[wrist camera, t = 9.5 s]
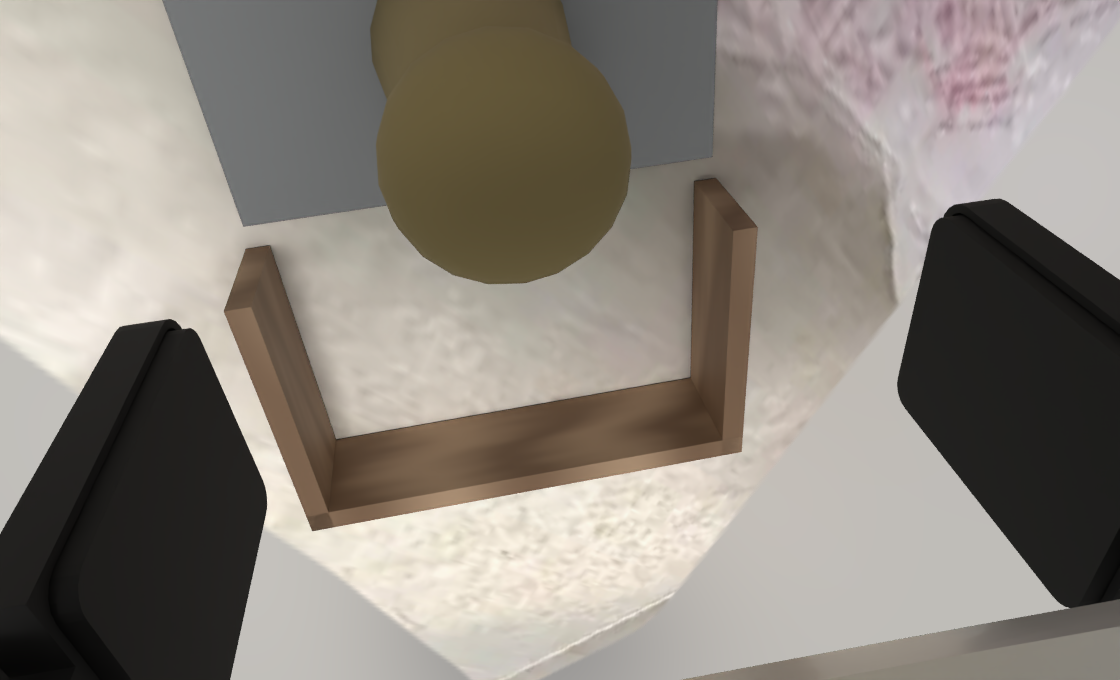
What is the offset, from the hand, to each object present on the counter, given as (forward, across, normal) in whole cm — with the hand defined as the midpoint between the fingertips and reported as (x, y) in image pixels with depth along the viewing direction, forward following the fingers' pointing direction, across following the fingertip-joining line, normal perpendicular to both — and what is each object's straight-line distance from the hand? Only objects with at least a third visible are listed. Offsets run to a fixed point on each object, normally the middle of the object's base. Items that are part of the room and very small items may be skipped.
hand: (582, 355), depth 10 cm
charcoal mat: (+17, +1, 0) cm, 17 cm away
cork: (+17, +1, 0) cm, 17 cm away
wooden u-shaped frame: (+17, +1, +10) cm, 20 cm away
